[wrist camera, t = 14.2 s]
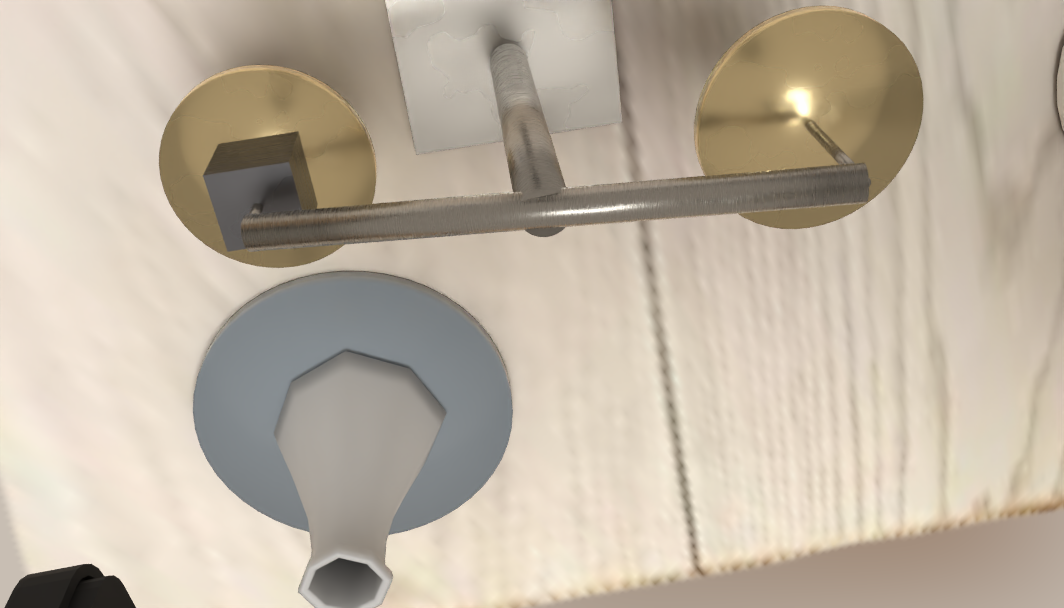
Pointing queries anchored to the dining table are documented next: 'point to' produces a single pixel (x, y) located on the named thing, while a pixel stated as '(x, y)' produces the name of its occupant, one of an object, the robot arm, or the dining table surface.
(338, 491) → the flask
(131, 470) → the dining table surface
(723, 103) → the tipped balance
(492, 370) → the slate dish
